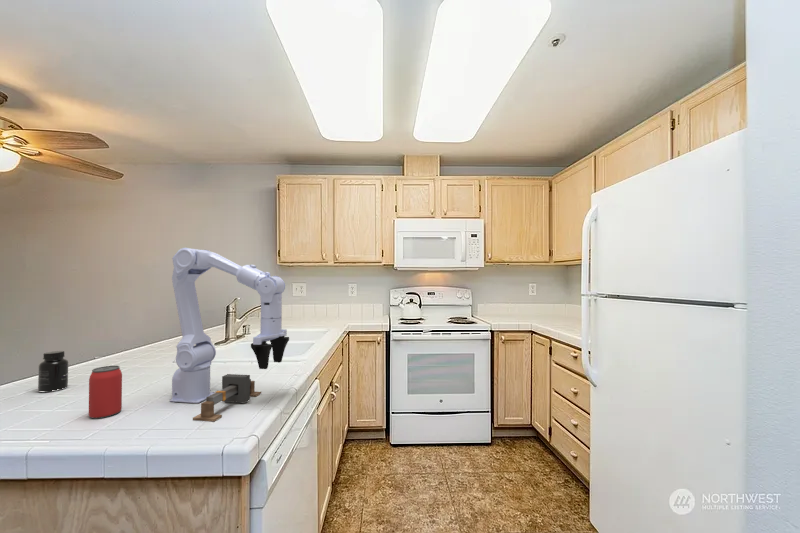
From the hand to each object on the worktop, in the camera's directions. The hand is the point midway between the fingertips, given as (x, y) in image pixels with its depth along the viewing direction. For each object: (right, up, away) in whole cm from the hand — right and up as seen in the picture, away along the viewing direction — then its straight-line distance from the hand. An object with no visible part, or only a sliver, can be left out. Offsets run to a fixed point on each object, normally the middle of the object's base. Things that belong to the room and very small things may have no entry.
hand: (270, 365), depth 99 cm
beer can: (-40, -11, -9) cm, 42 cm away
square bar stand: (-10, -10, -4) cm, 15 cm away
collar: (-9, -10, -2) cm, 14 cm away
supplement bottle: (-75, -12, +12) cm, 77 cm away
